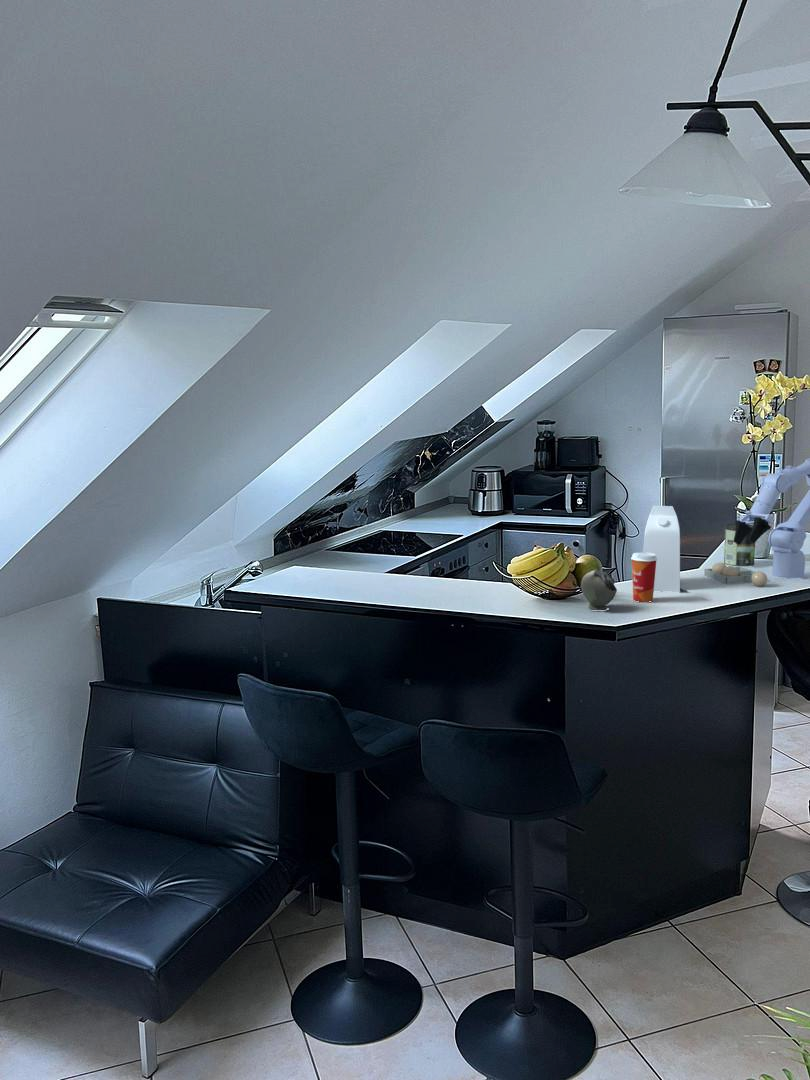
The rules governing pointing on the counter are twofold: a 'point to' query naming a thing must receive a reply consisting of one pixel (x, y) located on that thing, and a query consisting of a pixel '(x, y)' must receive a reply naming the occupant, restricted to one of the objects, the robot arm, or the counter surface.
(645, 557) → the paper cup
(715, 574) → the carton
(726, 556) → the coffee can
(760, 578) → the egg
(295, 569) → the counter surface
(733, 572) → the egg
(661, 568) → the milk
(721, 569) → the egg
